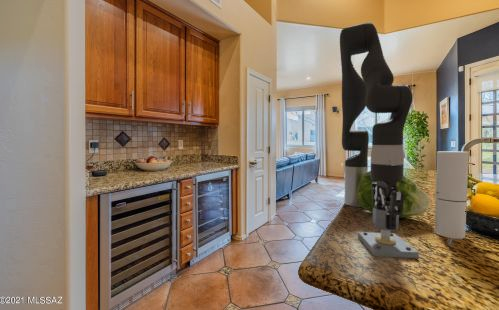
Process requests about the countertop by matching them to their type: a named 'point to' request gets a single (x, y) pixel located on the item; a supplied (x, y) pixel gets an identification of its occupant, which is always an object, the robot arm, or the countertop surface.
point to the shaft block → (387, 245)
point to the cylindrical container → (451, 194)
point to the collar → (382, 218)
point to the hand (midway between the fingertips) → (385, 224)
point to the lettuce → (413, 195)
